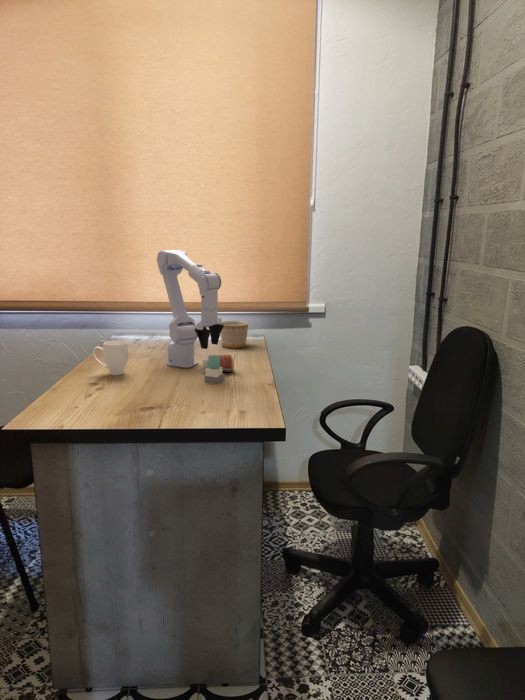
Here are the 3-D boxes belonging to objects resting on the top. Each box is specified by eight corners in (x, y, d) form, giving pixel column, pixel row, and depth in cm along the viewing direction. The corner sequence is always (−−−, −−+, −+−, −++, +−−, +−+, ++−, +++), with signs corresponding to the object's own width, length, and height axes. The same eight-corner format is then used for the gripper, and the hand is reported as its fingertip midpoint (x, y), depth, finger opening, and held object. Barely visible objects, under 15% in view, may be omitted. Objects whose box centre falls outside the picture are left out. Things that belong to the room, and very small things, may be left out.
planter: (214, 346, 224) (213, 323, 222) (231, 341, 234) (231, 319, 232) (236, 350, 217) (236, 326, 215) (253, 345, 228) (253, 323, 225)
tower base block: (204, 382, 172) (204, 375, 171) (211, 379, 176) (211, 372, 176) (217, 384, 170) (217, 377, 169) (224, 380, 174) (224, 373, 174)
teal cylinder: (206, 368, 171) (206, 356, 170) (211, 365, 174) (211, 354, 174) (216, 369, 169) (216, 358, 168) (221, 367, 173) (222, 355, 172)
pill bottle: (232, 351, 185) (202, 351, 183) (234, 362, 180) (204, 363, 178) (231, 363, 189) (202, 364, 187) (233, 375, 184) (203, 375, 182)
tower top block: (205, 375, 171) (205, 368, 170) (210, 372, 175) (210, 365, 174) (217, 377, 169) (217, 370, 169) (222, 374, 174) (222, 367, 173)
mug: (130, 370, 184) (129, 339, 181) (127, 376, 176) (126, 344, 173) (96, 370, 182) (94, 340, 179) (92, 377, 174) (90, 345, 171)
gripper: (209, 312, 167) (209, 351, 170) (229, 306, 180) (228, 343, 183) (191, 310, 170) (191, 349, 173) (211, 305, 183) (211, 341, 186)
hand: (209, 346), depth 178 cm, fingers open, 7 cm apart
